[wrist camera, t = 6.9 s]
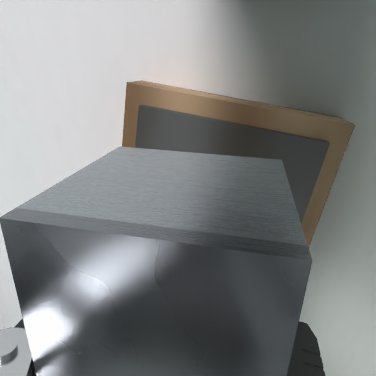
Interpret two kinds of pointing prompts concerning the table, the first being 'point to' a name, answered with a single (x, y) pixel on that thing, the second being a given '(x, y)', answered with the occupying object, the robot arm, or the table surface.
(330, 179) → the stand
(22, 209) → the block
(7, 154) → the table surface
